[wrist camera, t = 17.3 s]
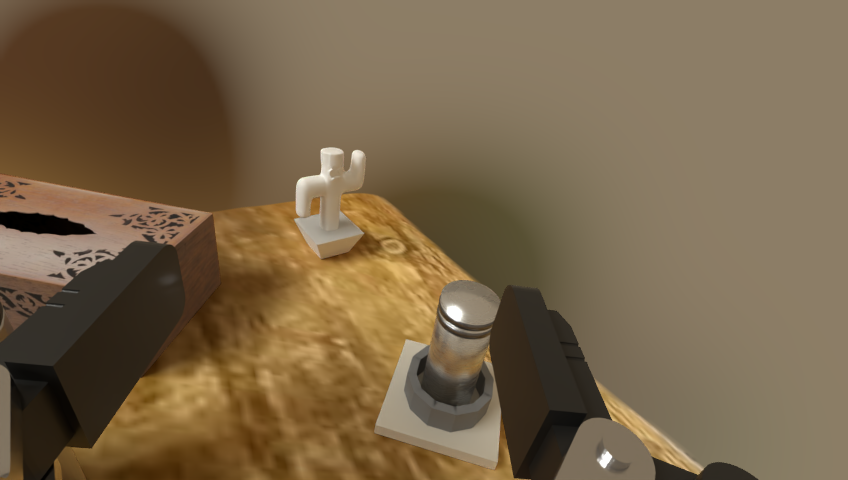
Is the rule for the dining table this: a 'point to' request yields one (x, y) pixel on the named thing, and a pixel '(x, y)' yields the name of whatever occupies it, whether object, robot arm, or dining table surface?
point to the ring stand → (441, 413)
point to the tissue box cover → (92, 243)
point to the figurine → (330, 203)
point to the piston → (459, 341)
